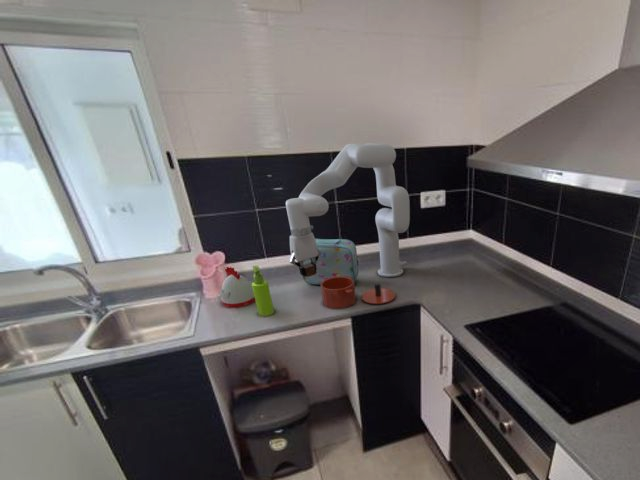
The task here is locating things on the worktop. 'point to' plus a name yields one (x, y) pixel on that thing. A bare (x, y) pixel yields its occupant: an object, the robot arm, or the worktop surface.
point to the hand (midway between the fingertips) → (308, 273)
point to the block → (309, 269)
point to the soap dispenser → (262, 294)
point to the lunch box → (334, 260)
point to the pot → (338, 292)
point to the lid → (378, 295)
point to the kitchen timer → (236, 290)
